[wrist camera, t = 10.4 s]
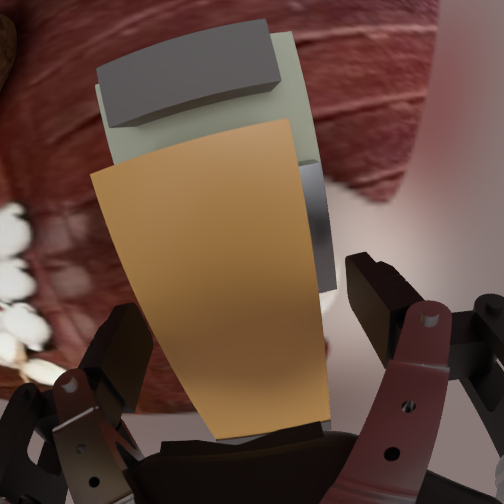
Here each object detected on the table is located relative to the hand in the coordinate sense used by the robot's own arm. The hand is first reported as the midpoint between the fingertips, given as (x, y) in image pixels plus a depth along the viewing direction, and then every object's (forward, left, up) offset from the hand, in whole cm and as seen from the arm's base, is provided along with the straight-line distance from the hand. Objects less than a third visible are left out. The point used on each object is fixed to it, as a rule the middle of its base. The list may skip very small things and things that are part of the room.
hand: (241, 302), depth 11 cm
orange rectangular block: (0, 0, -4) cm, 4 cm away
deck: (-4, 0, -9) cm, 10 cm away
